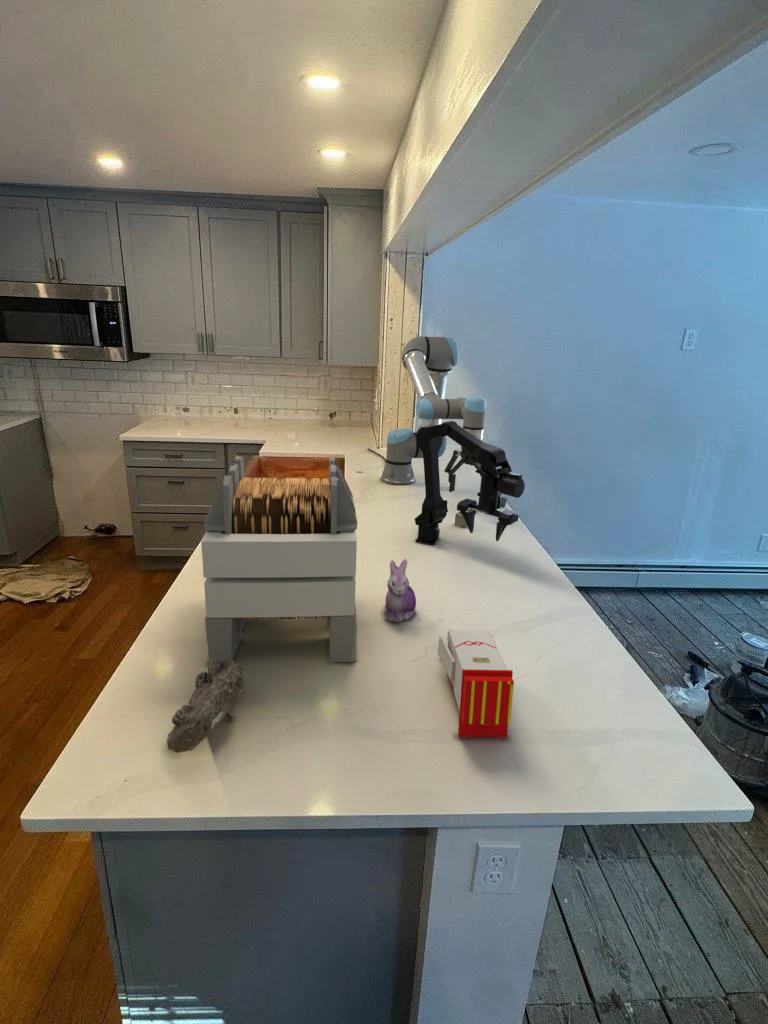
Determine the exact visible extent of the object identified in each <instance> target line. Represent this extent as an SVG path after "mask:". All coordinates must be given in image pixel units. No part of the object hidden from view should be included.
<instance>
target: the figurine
mask: <svg viewBox="0 0 768 1024" xmlns="http://www.w3.org/2000/svg"><path fill="white" fill-rule="evenodd" d="M407 567H408V559H406V558H404V559H403V560H402V561H401V563H400V565H399V566H398V565H397V563H396V562H395V561H394V560H393V559H391V560H390V561H389V570H390V576H389V578H388V579H387V589H388V591H387V592H386V594H385V595H386V596H385V607H384V615H385V616H386V620H387V621H391V622H395V623H400V622H402V621H406V620H409V619H410V618H411V617H413V616H414V615H415V610H416V606H417V597H416V593H415V591H414V590H413V587H411V586H410V582H409V579H408V577H407V574H406V571H407Z"/></svg>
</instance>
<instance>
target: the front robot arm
mask: <svg viewBox="0 0 768 1024" xmlns="http://www.w3.org/2000/svg"><path fill="white" fill-rule="evenodd" d="M416 432H417V433H416ZM416 432H415V433H416V437H417V442H418V446H419V448H420V450H421V451H422V453H423V458H422V460H423V474H424V491H425V497H424V499H423V502H422V504H421V513H420V514H419V515H417V516H416V517H415V518H414V523H415V525H416V526H418V527H417V538H416V539H415V542H417V543H421V544H425V545H430V546H435V544H436V543H437V542H438V541H439V540H440V532H441V528H439V526H440V524H442V523H443V521H444V520H445V518H446V517H447V515H448V512H449V509H448V500H447V499H444V498H443V497H442V495H441V481H440V461H439V457H438V452H439V449H440V447H441V444H442V437H444V436H446V437H448V438H449V439H451V440H452V441H454V442H455V443H456V444H458V445H459V446H460V447H461V446H462V447H464V448H465V449H466V450H468V451H469V452H471V453H472V454H473V455H474V457H475V459H476V461H477V462H478V463H479V464H480V465H481V467H480V468H479V469H476V470H475V473H476V474H479V473H480V474H482V475H481V476H480V485H479V491H478V492H477V497H478V502H477V500H474V499H470V498H464V499H462V500H460V501H458V502H457V504H456V511H458V512H460V511H461V512H460V514H462V515H463V517H464V519H465V521H466V523H467V528H468V531H469V534H473V533H474V529H475V516H476V513H477V512H478V513H481V514H485V515H489V516H492V517H496V518H497V522H496V525H495V526H496V529H495V541H496V542H499V541H500V539H501V538H502V535H503V533H504V531H505V529H506V528H507V526H511V525H513V524H514V523H516V522H518V521H519V514H518V511H515V510H511V509H506V505H507V501H508V498H506V497H503V496H502V494H503V495H506V496H509V497H512V498H516V499H520V497H521V496H522V495H523V494H524V491H525V488H526V485H525V481H524V479H523V474H520V473H514V472H513V469H512V467H511V464H509V463H510V462H509V461H508V458H507V456H506V452H505V450H504V449H503V448H502V447H499V446H496V445H494V444H491V443H487V442H484V441H482V440H479V439H478V438H476V437H475V436H473V435H472V434H470V433H469V432H468V431H466V430H465V429H463V426H460V425H459V424H458V423H457V422H456V421H454V420H449V421H443V422H441V424H439V425H432V426H426V427H421V428H419V430H418V429H417V430H416ZM480 474H479V475H480ZM501 508H503V509H505V510H502V511H501V510H500V509H501Z"/></svg>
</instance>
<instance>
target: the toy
mask: <svg viewBox="0 0 768 1024" xmlns="http://www.w3.org/2000/svg"><path fill="white" fill-rule="evenodd" d="M446 640H447V643H446V641H445V639H444V636H443V635H442V634H439V637H438V646H437V656H438V657H439V659H440V661H441V663H442V666H443V668H444V670H445V672H446V674H447V677H448V679H449V681H450V684H451V687H452V690H453V693H454V697H455V701H456V705H457V708H458V711H459V714H458V715H459V716H458V730H457V731H458V732H457V737H458V738H508V731H509V726H510V725H511V717H512V707H513V697H514V696H513V695H514V684H515V680H514V679H513V673H514V671H513V670H512V669H508V667H507V665H506V662H505V661H504V659H503V658H502V655H501V653H500V651H499V649H498V647H497V643H496V639H495V637H494V635H493V634H491V632H490V631H489V629H467V628H466V629H465V628H463V629H461V628H460V629H459V628H448V630H447V639H446Z"/></svg>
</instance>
